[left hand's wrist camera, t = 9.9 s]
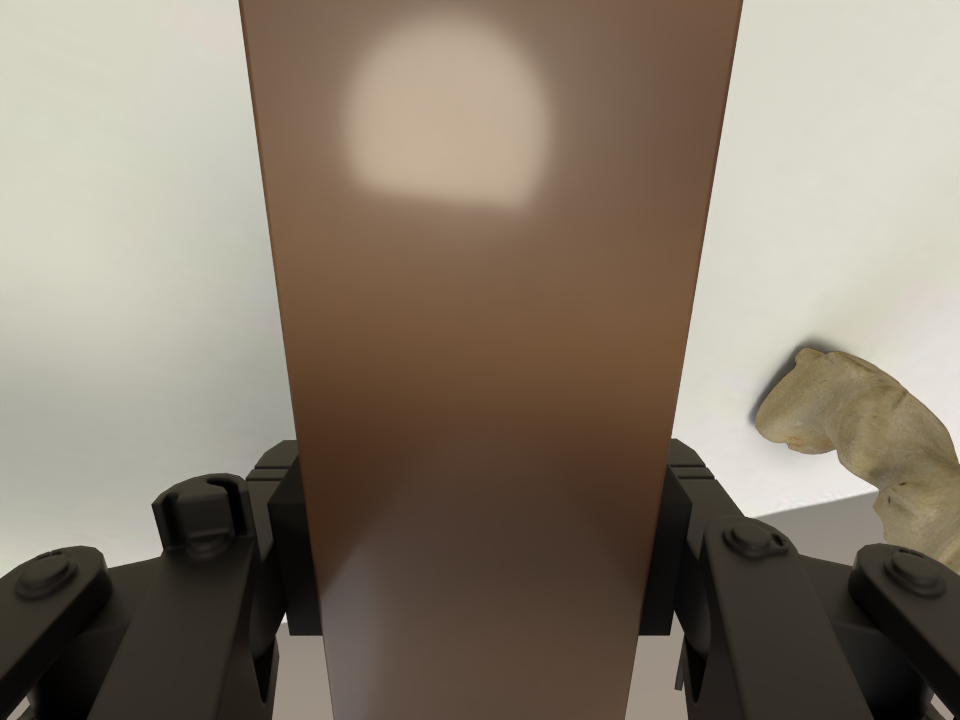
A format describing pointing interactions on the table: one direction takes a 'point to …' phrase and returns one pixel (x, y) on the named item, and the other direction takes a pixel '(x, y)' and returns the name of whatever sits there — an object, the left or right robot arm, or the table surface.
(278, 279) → the post
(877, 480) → the sculpture
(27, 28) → the table surface
